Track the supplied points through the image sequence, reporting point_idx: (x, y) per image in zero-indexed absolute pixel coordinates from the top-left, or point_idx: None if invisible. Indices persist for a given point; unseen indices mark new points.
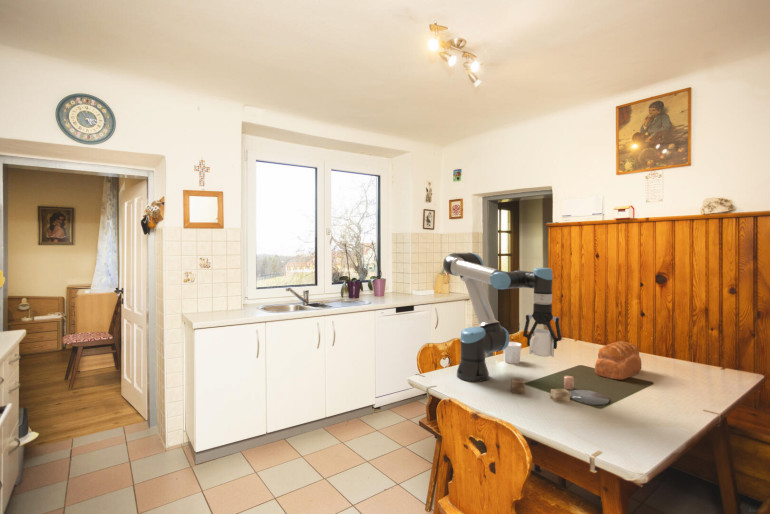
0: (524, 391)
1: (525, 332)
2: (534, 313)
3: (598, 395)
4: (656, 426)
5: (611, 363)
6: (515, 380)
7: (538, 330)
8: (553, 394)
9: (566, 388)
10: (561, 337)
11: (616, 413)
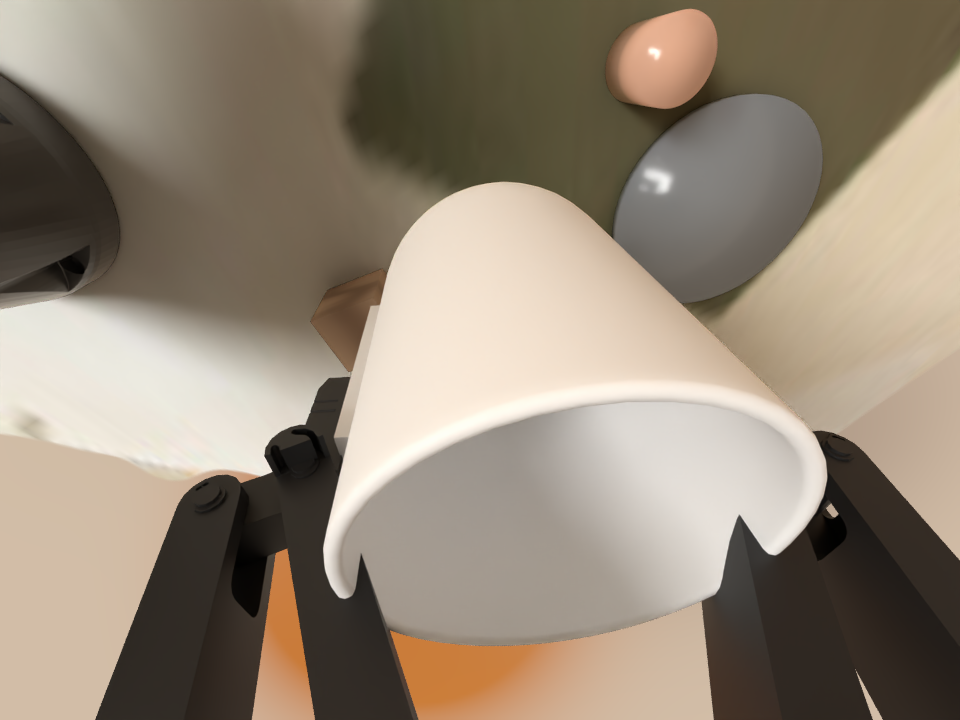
0: None
1: (248, 613)
2: None
3: (780, 170)
4: (841, 374)
5: None
6: (349, 342)
7: (431, 423)
8: None
9: (619, 100)
10: (867, 472)
11: (761, 334)
